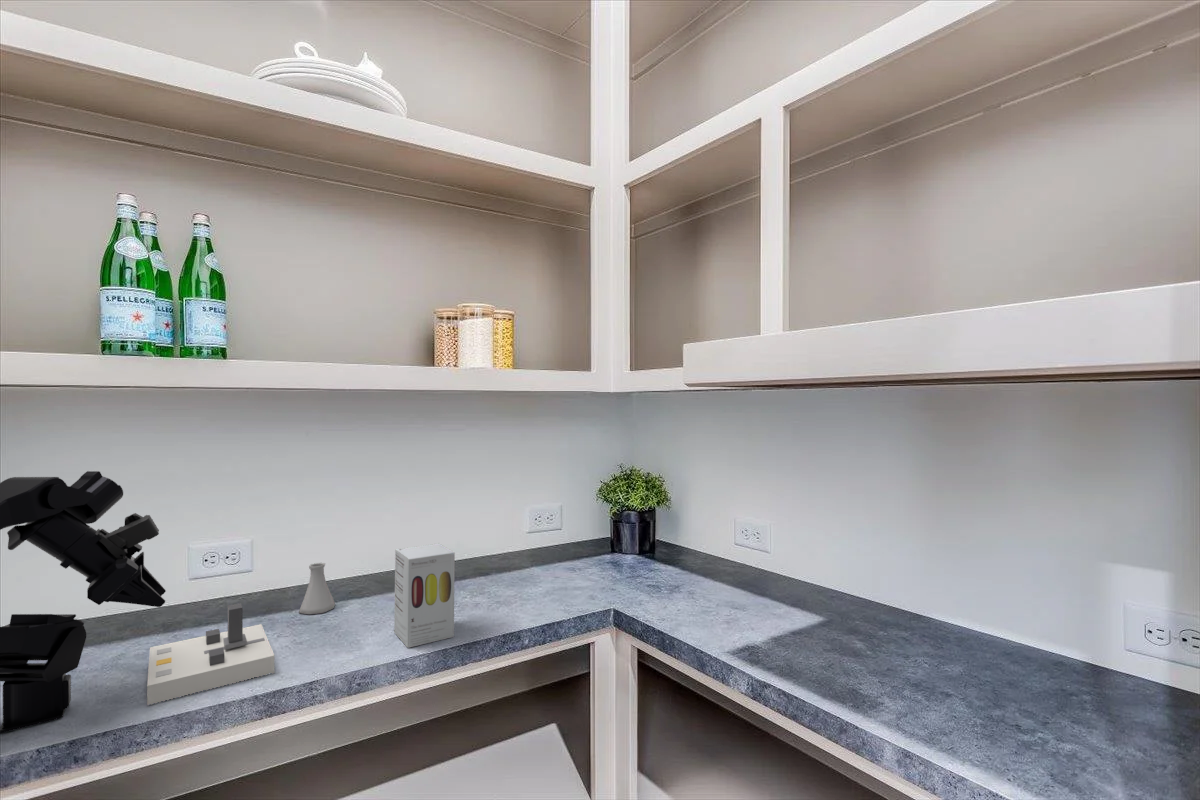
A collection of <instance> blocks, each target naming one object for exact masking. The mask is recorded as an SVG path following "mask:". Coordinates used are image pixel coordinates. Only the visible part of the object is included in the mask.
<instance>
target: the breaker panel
mask: <svg viewBox="0 0 1200 800" xmlns="http://www.w3.org/2000/svg"><path fill="white" fill-rule="evenodd" d="M243 634H245V636H246V639H247V645H244V646H239V647H235V648H230V649H226V650H225V647H224V638H226V637H228V630H227V631H222V632H220V628H216V629H211V630H206V631H205V635H204V636H202V635H201V636H198V637H193V638H188V639H184V640H179V641H173V642H170V643H164V644H159V645H154V646H150V647H149V656H148V657H149V659H148V671H147V683H146V685H147V686H146V706H150V705H149V704H151V705H154V704H153V703H155V704H158V703H157V702H159V703H162V702H161V701H163V702H166V701H165V700H167V701H170V700H169V699H171V700H174V699H173V698H175V699H177V698H176V697H179V698H181V697H180V696H183V697H185V696H184V695H187V696H189V695H188V694H190V695H193V694H192V693H194V694H196V693H195V692H198V693H200V692H199V691H202V692H204V691H203V690H206V691H209V690H208V689H210V690H213V689H212V688H214V689H216V688H215V687H218V688H220V686H222V687H225V686H224V685H226V686H228V685H227V684H229V685H233V684H236V682H237V683H240V682H239V681H241V682H245V681H248V680H247V679H249V680H252V679H251V678H253V679H255V678H254V677H257V678H260V677H259V676H261V677H263V676H262V675H265V676H267V675H266V674H269V673H272V674H275V653H274V651H273V648H272V646H271V644H270V642H269V641H270V640H269V639H268V637H267V634H266V631H265V630H264V627H263V624H261V623H260V624H255V625H251V626H247V627H243ZM269 675H270V674H269ZM244 680H245V681H244ZM232 683H233V684H232Z"/></svg>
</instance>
